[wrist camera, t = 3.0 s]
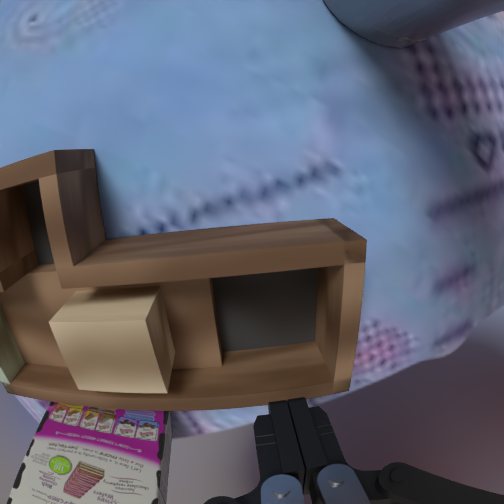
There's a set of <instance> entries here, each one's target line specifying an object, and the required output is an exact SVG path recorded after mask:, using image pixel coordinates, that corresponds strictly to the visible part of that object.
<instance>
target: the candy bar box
mask: <svg viewBox="0 0 504 504" xmlns="http://www.w3.org/2000/svg"><path fill="white" fill-rule="evenodd" d="M171 441H172V425H171V418H170V411H147V410H124V409H109V408H98V407H88V406H79V405H71V404H64V403H57V402H50V405H49V406H48V408H47V410H46V412H45V414H44V416H43V418H42V420H41V423H40V425H39V427H38V429H37V432H36V433H35V435H34V437H33V440H32V442H31V444H30V447H29V450H28V451H27V454H26V456H25V458H24V460H23V463H22V465H21V467H20V470H19V472H18V475H17V477H16V480H15V482H14V485H13V488H12V491H11V493H10V497H9V499H8V501H7V504H166V498H167V485H168V473H169V462H170V452H171Z"/></svg>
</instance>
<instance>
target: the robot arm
mask: <svg viewBox="0 0 504 504" xmlns="http://www.w3.org/2000/svg"><path fill="white" fill-rule="evenodd" d="M324 2H325V3H326V5H327V6H328V8H329V9H330V11H331V12H332V13H333V14H334V15H335V16H336V17H337V18H338V19H339V20H340V21H341V22H342V23H343V24H345V25H346V26H347V27H348V28H349V29H351V30H352V31H354V32H355V33H357V34H359V35H360V36H362V37H363V38H366V39H368V40H370V41H372V42H374V43H377V44H380V45H384V46H387V47H395V48H401V47H409V46H411V45H413V44H416V43H418V42H421V41H424V40H426V39H427V38H430V37H432V36H434V35H437V34H439V33H442V32H445V31H447V30H450V29H452V28H455V27H458V26H460V25H463V24H466V23H468V22H471V21H474V20H477V19H480V18H483V17H486V16H489V15H492V14H495V13H498V12H501V11H504V0H324ZM268 407H269V414H268V415H260V416H257V418H256V421H255V423H254V434H255V442H256V450H257V457H258V464H259V471H260V482H259V484H258V486H257V487H256V488H255V489H254V490H253V491H251V492H250V493H248V494H246V495H243V496H240V497H238V498H235V499H233V498H230V497H226V496H219V497H214V498H211V499H209V500H208V501H206V502H205V503H204V504H304V499H303V495H304V494H309V493H310V496H311V500H312V504H504V495H500V494H496V493H492V492H488V491H484V490H481V489H477V488H474V487H470V486H467V485H463V484H460V483H457V482H454V481H451V480H448V479H445V478H442V477H439V476H437V475H433V474H431V473H428V472H426V471H423V470H420V469H418V468H415V467H413V466H410V465H408V464H405V463H400V462H396V463H391V464H389V465H387V466H385V467H384V468H383V469H382V470H379V471H361V470H357V469H354V468H352V467H351V466H349V465H348V464H347V463H346V461H345V459H344V457H343V454H342V451H341V449H340V446H339V444H338V441H337V439H336V436H335V434H334V431H333V428H332V426H331V424H330V421H329V418H328V416H327V414H326V413H325V412H324V411H323V410H322V409H321V408H320V407H319V406H317V407H312V408H309V407H308V404H307V401H306V399H305V397H299V398H293V399H287V401H286V400H281V401H274V402H268Z"/></svg>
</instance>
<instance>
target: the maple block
mask: <svg viewBox="0 0 504 504" xmlns="http://www.w3.org/2000/svg"><path fill="white" fill-rule="evenodd" d="M49 324H50V327H51V330H52V332H53V335H54V337H55V339H56V342H57V344H58V347H59V349H60V351H61V354H62V356H63V358H64V360H65V362H66V365H67V367H68V369H69V371H70V373H71V375H72V377H73V379H74V381H75V383H76V385H77V387H78V389H79V390H90V391H103V392H122V393H167V392H168V387H169V382H170V377H171V372H172V367H173V362H174V357H175V349H174V345H173V341H172V337H171V333H170V328H169V324H168V320H167V315H166V311H165V306H164V301H163V297H162V292H161V287H160V286H149V287H136V288H121V289H106V290H90V291H76V292H75V293H74V294H73V295H72V296H71V297H70V299H69V300H68V301H67V302H66V303H65V304H64V305H63V306H62V307H61V308H60V310H59V311H58V312H57V313H56V314H55V315H54V316H53V318H52V319H51V320H50V321H49Z"/></svg>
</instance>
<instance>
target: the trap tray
mask: <svg viewBox="0 0 504 504" xmlns="http://www.w3.org/2000/svg"><path fill="white" fill-rule="evenodd" d="M366 242H367V240H366V239H365V238H363V237H362V236H360V235H359V234H357V233H356V232H354V231H353V230H351V229H350V228H348V227H346V226H345V225H343V224H342V223H340V222H339V221H337V220H336V219H334V218H331V219H316V220H303V221H289V222H277V223H264V224H252V225H241V226H230V227H219V228H208V229H198V230H188V231H178V232H168V233H159V234H149V235H140V236H131V237H123V238H114V239H106V236H105V231H104V225H103V219H102V213H101V207H100V200H99V193H98V186H97V178H96V169H95V159H94V149H75V150H53V151H50V152H47V153H43V154H40V155H37V156H34V157H30V158H27V159H24V160H21V161H19V162H16V163H13V164H10V165H7V166H4V167H2V168H0V381H1V382H2V384H3V386H4V387H5V389H6V391H7V392H8V393H11V394H15V395H19V396H24V397H29V398H34V399H39V400H45V401H51V402H57V403H64V404H71V405H79V406H88V407H98V408H109V409H124V410H147V411H191V410H215V409H230V408H242V407H252V406H261V405H268V402H274V401H281V400H286V401H287V399H293V398H299V397H305V399H310V398H316V397H321V396H326V395H331V394H336V393H341V392H345V391H349V388H350V382H351V377H352V371H353V365H354V359H355V352H356V346H357V339H358V331H359V323H360V315H361V306H362V296H363V286H364V274H365V260H366ZM149 286H160V287H161V292H162V297H163V301H164V306H165V311H166V315H167V320H168V324H169V328H170V333H171V337H172V341H173V345H174V349H175V357H174V362H173V367H172V372H171V377H170V382H169V387H168V392H167V393H122V392H103V391H90V390H79V389H78V387H77V385H76V383H75V381H74V379H73V377H72V375H71V373H70V371H69V369H68V367H67V365H66V362H65V360H64V358H63V356H62V354H61V351H60V349H59V347H58V344H57V342H56V339H55V337H54V335H53V332H52V330H51V327H50V324H49V321H50V320H51V319H52V318H53V316H54V315H55V314H56V313H57V312H58V311H59V310H60V308H61V307H62V306H63V305H64V304H65V303H66V302H67V301H68V300H69V299H70V297H71V296H72V295H73V294H74V293H75V292H76V291H90V290H106V289H121V288H136V287H149Z"/></svg>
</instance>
